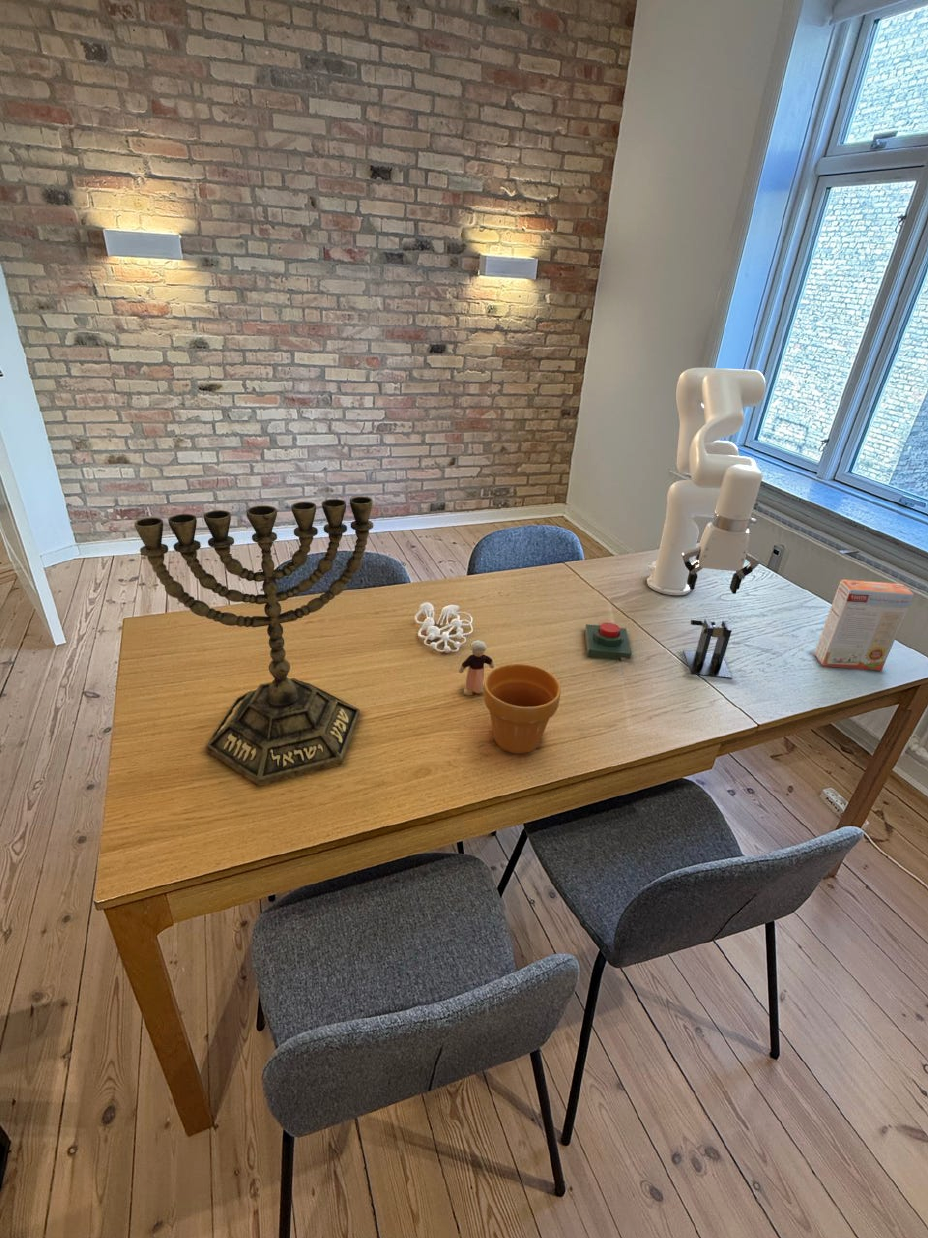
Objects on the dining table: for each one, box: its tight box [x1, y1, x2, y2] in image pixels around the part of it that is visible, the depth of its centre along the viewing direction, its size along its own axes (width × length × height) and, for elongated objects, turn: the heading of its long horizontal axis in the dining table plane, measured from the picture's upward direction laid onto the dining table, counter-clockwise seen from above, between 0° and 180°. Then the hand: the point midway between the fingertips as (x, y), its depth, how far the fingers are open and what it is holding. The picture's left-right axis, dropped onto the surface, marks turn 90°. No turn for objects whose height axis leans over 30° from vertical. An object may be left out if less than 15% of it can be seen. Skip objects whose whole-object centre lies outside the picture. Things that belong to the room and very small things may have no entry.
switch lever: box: [690, 619, 724, 639], centre depth 150 cm, size 13×6×2 cm, turn 173°
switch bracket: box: [683, 618, 733, 680], centre depth 147 cm, size 10×9×12 cm
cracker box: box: [813, 579, 915, 672], centre depth 150 cm, size 14×6×21 cm, turn 84°
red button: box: [599, 622, 621, 638], centre depth 154 cm, size 5×5×2 cm
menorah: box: [133, 496, 374, 787], centre depth 112 cm, size 36×25×45 cm
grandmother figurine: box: [458, 639, 495, 697], centre depth 135 cm, size 8×4×13 cm, turn 118°
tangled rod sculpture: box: [414, 601, 474, 654], centre depth 157 cm, size 19×14×4 cm
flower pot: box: [483, 663, 562, 754], centre depth 122 cm, size 14×14×13 cm
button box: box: [584, 624, 632, 661], centre depth 156 cm, size 12×10×4 cm
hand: (711, 589), depth 152 cm, fingers open, 9 cm apart
